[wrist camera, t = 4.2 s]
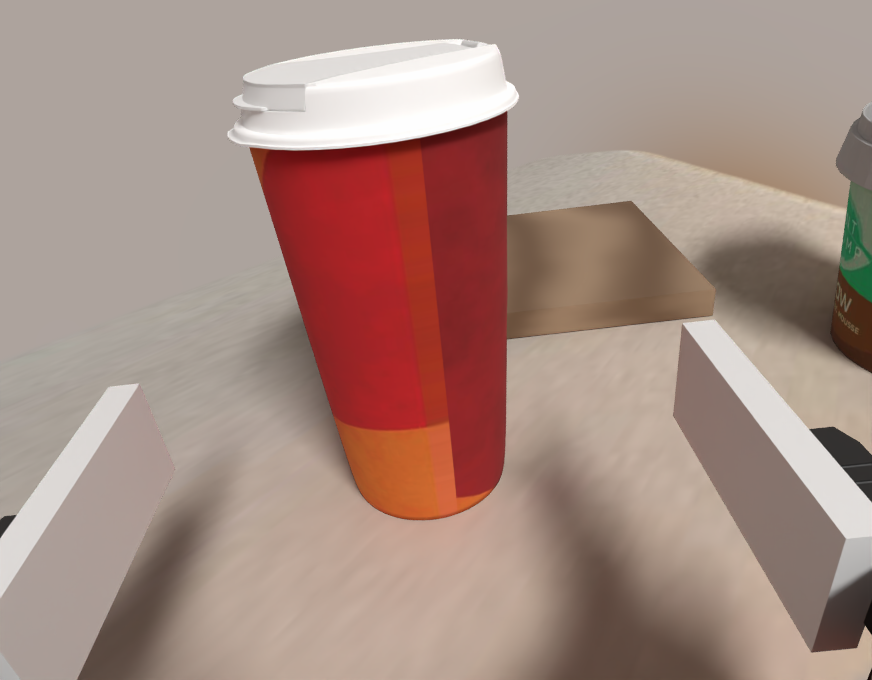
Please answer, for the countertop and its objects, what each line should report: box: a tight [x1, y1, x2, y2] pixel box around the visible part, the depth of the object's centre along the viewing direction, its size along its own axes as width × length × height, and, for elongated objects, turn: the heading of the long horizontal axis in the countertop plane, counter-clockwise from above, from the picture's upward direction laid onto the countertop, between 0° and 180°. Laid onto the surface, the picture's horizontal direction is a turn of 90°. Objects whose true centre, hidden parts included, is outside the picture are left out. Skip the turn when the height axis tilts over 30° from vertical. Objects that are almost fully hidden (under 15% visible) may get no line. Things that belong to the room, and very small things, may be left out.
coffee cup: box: [228, 39, 519, 520], centre depth 22 cm, size 8×8×15 cm
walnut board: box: [507, 201, 716, 339], centre depth 39 cm, size 18×14×2 cm
